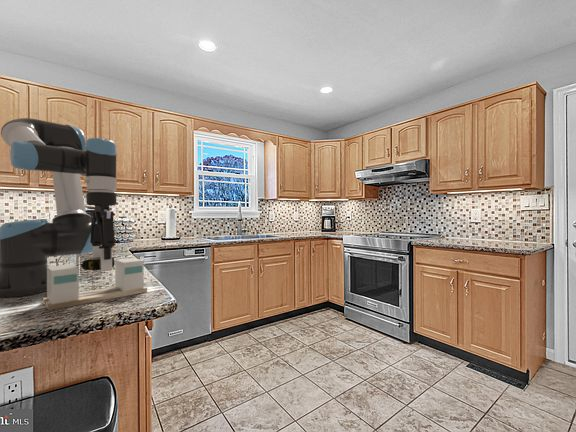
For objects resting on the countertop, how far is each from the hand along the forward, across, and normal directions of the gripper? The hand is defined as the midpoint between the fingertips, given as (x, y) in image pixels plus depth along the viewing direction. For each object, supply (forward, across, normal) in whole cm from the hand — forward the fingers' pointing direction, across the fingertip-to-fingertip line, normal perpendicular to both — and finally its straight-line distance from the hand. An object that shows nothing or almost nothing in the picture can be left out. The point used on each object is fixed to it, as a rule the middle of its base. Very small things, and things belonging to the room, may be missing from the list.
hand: (102, 268), depth 86 cm
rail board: (+9, -4, 0) cm, 10 cm away
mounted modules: (+8, -4, 0) cm, 9 cm away
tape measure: (+1, 0, -1) cm, 1 cm away
